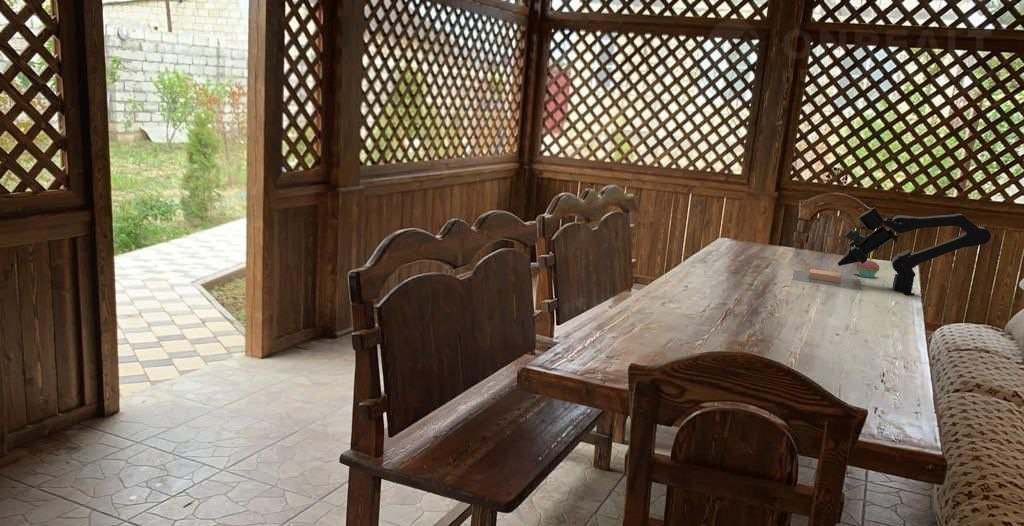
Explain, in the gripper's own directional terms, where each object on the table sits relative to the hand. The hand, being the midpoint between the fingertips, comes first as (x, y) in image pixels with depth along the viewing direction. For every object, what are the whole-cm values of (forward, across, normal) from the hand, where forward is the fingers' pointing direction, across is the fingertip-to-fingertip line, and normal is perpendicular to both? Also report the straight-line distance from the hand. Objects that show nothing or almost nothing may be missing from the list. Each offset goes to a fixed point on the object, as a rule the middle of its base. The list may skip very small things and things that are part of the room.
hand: (838, 264), depth 278 cm
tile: (+2, 0, +5) cm, 5 cm away
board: (+7, 0, +3) cm, 8 cm away
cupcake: (-3, -19, +13) cm, 23 cm away
